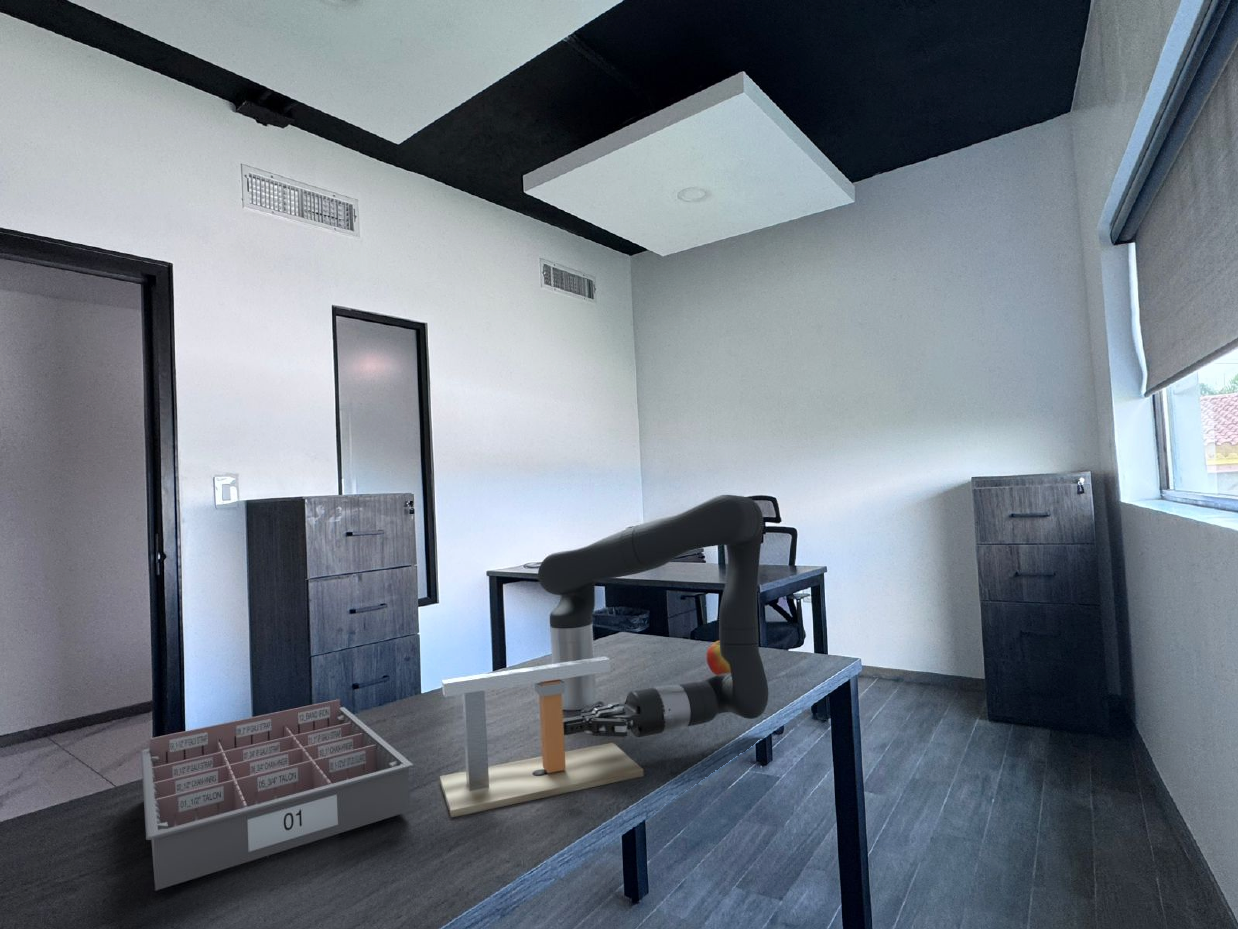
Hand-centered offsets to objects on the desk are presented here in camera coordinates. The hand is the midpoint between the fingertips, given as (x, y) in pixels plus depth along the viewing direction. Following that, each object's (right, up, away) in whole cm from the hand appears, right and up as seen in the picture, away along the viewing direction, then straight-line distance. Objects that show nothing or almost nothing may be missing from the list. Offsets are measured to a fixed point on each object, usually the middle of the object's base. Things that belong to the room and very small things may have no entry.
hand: (561, 727), depth 114 cm
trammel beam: (-4, -7, -2) cm, 8 cm away
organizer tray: (-44, -10, -7) cm, 46 cm away
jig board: (-3, -8, -2) cm, 8 cm away
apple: (+35, -8, +53) cm, 64 cm away
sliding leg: (-1, -6, -1) cm, 6 cm away
